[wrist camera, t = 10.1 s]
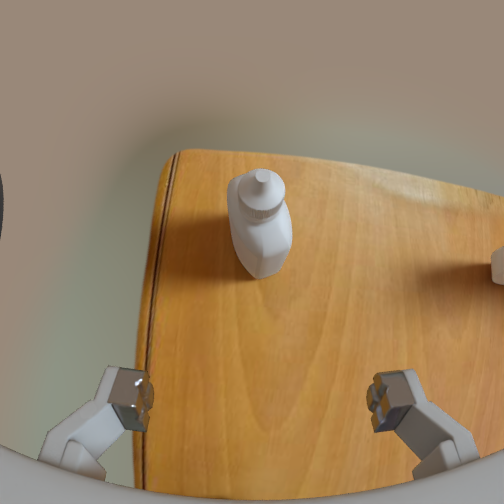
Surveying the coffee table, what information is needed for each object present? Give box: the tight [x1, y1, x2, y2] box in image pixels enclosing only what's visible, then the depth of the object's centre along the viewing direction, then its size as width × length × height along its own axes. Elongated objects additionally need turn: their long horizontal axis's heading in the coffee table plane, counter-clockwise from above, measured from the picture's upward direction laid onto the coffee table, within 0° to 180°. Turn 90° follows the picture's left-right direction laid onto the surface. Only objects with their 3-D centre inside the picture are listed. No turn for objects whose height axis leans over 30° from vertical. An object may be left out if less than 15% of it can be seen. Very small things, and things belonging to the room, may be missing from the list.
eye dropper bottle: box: [227, 168, 292, 279], centre depth 21 cm, size 4×6×12 cm
